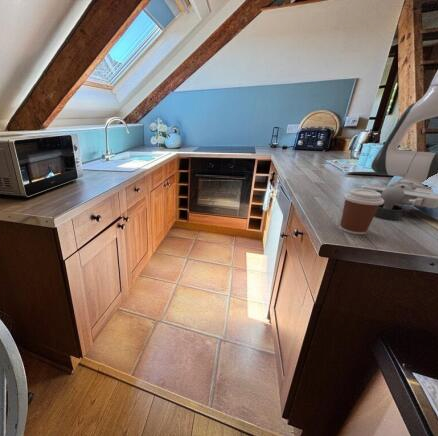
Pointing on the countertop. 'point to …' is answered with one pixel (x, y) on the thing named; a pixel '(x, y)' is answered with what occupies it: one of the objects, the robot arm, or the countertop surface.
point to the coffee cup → (359, 210)
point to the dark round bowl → (390, 212)
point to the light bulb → (392, 196)
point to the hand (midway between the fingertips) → (391, 199)
